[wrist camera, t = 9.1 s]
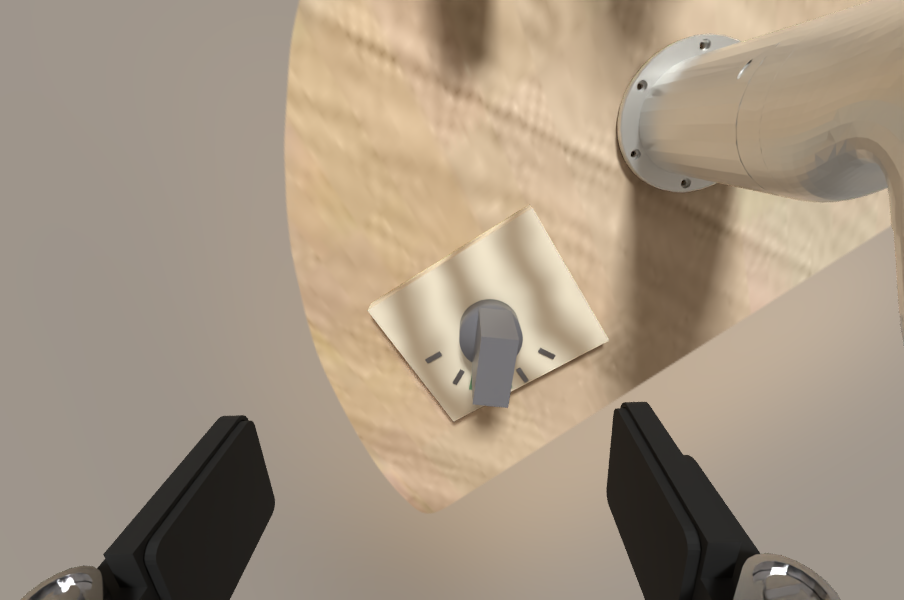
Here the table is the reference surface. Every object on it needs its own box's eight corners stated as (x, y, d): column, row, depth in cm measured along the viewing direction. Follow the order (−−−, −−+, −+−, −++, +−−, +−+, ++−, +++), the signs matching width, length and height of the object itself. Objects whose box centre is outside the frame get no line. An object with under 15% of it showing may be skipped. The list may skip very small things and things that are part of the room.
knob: (462, 294, 43) (462, 334, 34) (523, 300, 43) (538, 342, 34) (452, 391, 47) (449, 448, 38) (507, 396, 47) (517, 454, 39)
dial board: (529, 204, 42) (532, 208, 40) (603, 331, 46) (609, 341, 44) (371, 303, 46) (367, 311, 44) (453, 410, 51) (453, 422, 48)
